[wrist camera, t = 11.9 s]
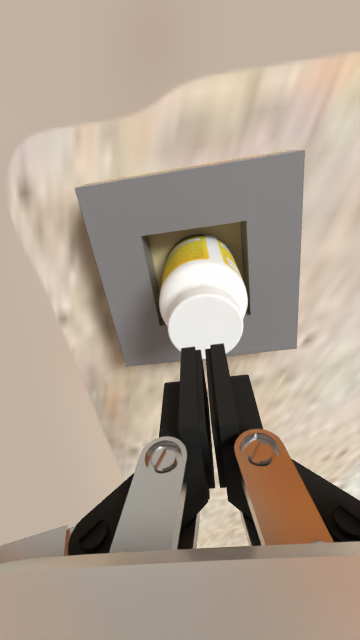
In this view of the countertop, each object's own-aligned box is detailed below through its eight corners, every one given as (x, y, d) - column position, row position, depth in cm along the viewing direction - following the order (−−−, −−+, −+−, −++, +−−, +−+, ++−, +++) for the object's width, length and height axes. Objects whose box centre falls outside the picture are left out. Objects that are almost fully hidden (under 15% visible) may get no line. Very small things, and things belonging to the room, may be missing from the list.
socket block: (282, 323, 28) (296, 348, 24) (133, 340, 29) (126, 366, 26) (285, 150, 21) (304, 150, 18) (92, 182, 23) (74, 188, 19)
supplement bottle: (157, 285, 25) (141, 354, 17) (178, 222, 23) (171, 264, 14) (218, 305, 26) (232, 380, 17) (244, 245, 24) (276, 299, 15)
